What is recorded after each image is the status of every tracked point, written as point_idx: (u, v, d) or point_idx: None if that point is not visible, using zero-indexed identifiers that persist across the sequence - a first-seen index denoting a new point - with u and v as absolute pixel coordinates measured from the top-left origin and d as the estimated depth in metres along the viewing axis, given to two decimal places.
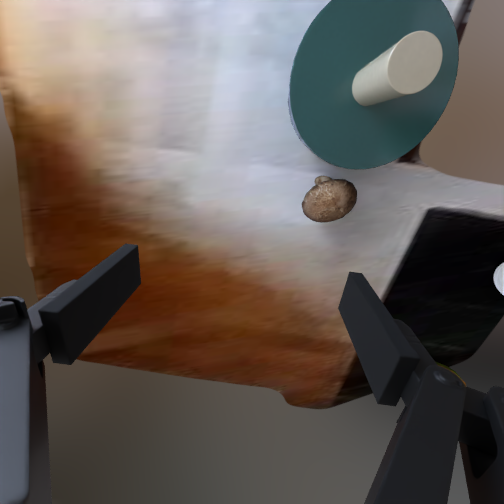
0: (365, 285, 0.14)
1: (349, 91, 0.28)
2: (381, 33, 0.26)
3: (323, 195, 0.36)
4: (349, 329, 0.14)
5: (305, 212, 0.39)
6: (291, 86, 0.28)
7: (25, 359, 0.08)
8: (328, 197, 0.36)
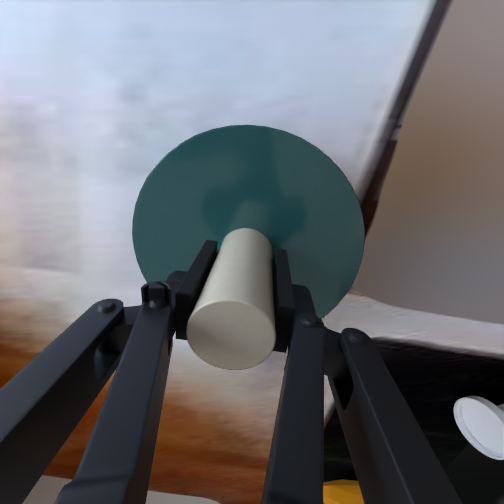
0: (283, 258, 0.16)
1: None
2: (248, 194, 0.18)
3: None
4: None
5: None
6: (136, 250, 0.20)
7: (161, 339, 0.09)
8: None
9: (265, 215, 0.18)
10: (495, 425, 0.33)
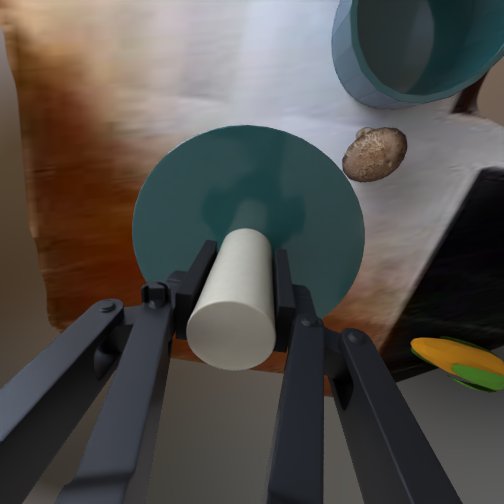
0: (283, 258, 0.16)
1: None
2: (248, 195, 0.18)
3: (371, 146, 0.31)
4: None
5: (346, 169, 0.34)
6: (136, 250, 0.20)
7: (161, 339, 0.09)
8: (377, 148, 0.31)
9: (265, 215, 0.18)
10: None
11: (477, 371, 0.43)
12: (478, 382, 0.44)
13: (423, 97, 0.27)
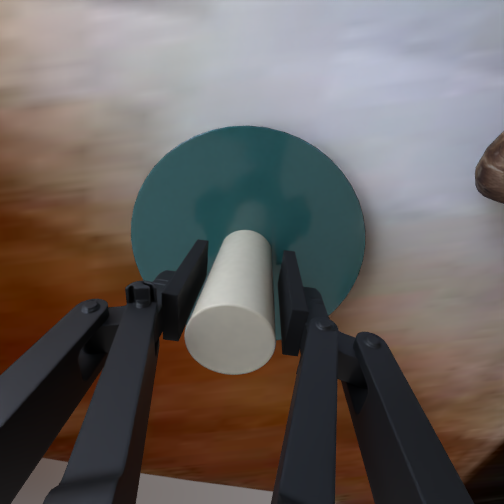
0: (292, 260, 0.16)
1: None
2: (248, 196, 0.17)
3: None
4: (279, 299, 0.16)
5: (497, 177, 0.14)
6: (135, 252, 0.20)
7: (147, 339, 0.09)
8: None
9: (265, 217, 0.18)
10: None
11: None
12: None
13: None
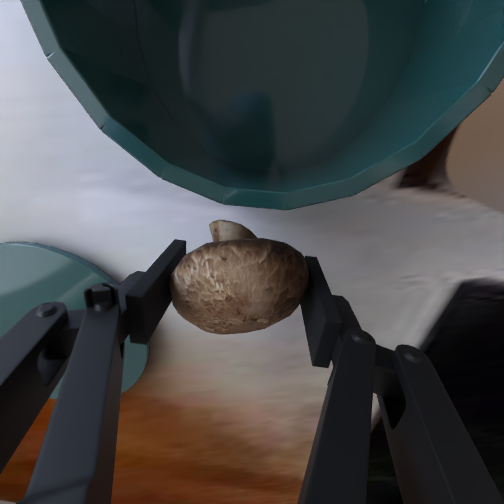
0: (315, 267, 0.15)
1: None
2: (35, 293, 0.21)
3: (203, 288, 0.12)
4: (302, 307, 0.16)
5: None
6: None
7: (111, 341, 0.09)
8: (216, 294, 0.12)
9: None
10: None
11: None
12: None
13: (282, 196, 0.10)
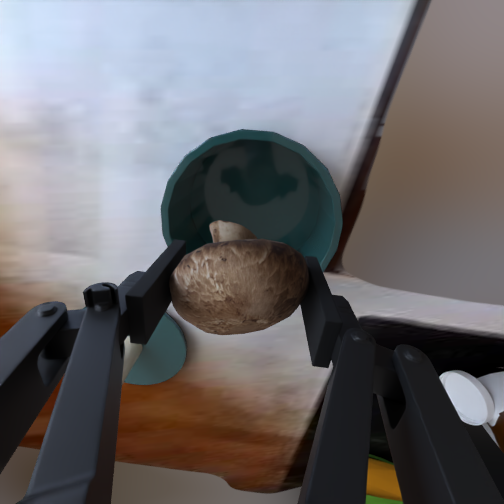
0: (315, 267, 0.15)
1: None
2: None
3: (203, 289, 0.12)
4: (302, 307, 0.16)
5: None
6: None
7: (111, 341, 0.09)
8: (216, 295, 0.12)
9: None
10: (474, 395, 0.36)
11: (374, 498, 0.43)
12: None
13: None
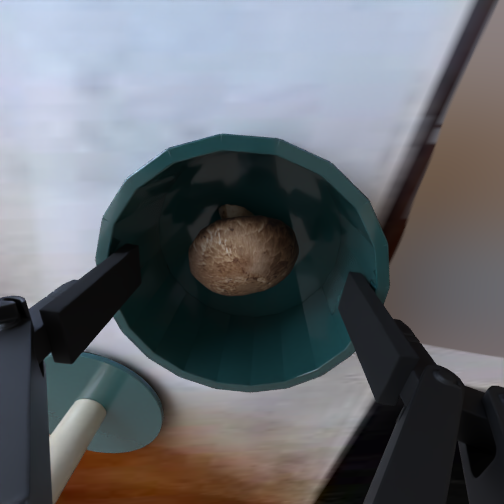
0: (365, 285, 0.14)
1: None
2: (82, 384, 0.29)
3: (216, 253, 0.16)
4: (348, 328, 0.14)
5: None
6: None
7: (26, 359, 0.08)
8: (226, 257, 0.16)
9: (95, 393, 0.29)
10: None
11: None
12: None
13: (248, 387, 0.18)
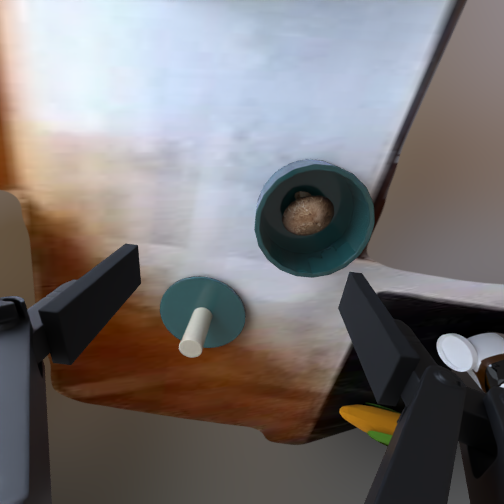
0: (365, 286, 0.14)
1: None
2: (201, 297, 0.50)
3: (301, 211, 0.37)
4: (348, 329, 0.14)
5: (285, 226, 0.40)
6: (161, 313, 0.52)
7: (25, 359, 0.08)
8: (305, 213, 0.37)
9: (208, 303, 0.51)
10: (463, 350, 0.49)
11: (387, 436, 0.55)
12: None
13: (311, 274, 0.39)
